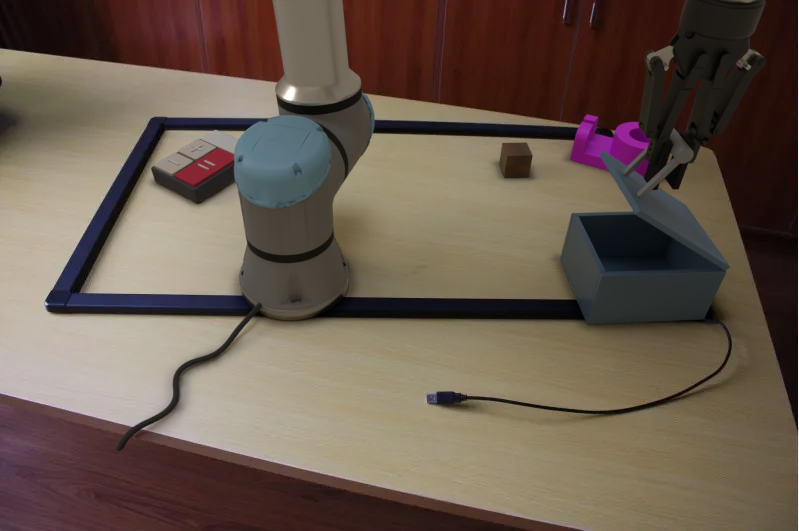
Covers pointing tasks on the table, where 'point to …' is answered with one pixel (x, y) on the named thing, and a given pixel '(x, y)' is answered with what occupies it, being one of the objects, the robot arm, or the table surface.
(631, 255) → the compartment
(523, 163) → the block
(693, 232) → the lid
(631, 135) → the tape dispenser
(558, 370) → the table surface
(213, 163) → the calculator
